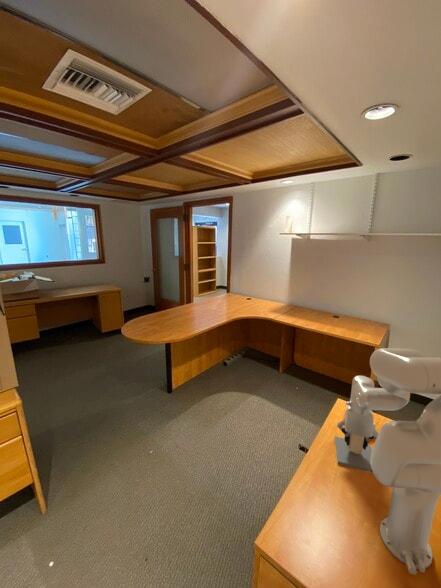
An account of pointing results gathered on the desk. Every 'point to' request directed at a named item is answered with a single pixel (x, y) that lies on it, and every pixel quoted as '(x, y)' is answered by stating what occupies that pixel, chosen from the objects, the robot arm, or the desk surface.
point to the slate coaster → (353, 456)
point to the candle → (356, 443)
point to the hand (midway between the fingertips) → (355, 444)
